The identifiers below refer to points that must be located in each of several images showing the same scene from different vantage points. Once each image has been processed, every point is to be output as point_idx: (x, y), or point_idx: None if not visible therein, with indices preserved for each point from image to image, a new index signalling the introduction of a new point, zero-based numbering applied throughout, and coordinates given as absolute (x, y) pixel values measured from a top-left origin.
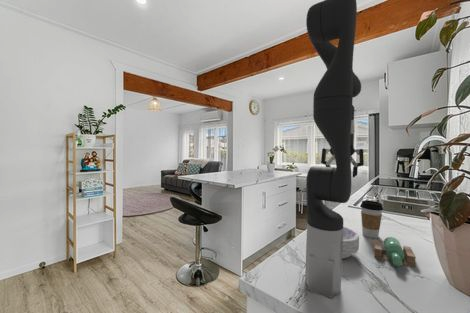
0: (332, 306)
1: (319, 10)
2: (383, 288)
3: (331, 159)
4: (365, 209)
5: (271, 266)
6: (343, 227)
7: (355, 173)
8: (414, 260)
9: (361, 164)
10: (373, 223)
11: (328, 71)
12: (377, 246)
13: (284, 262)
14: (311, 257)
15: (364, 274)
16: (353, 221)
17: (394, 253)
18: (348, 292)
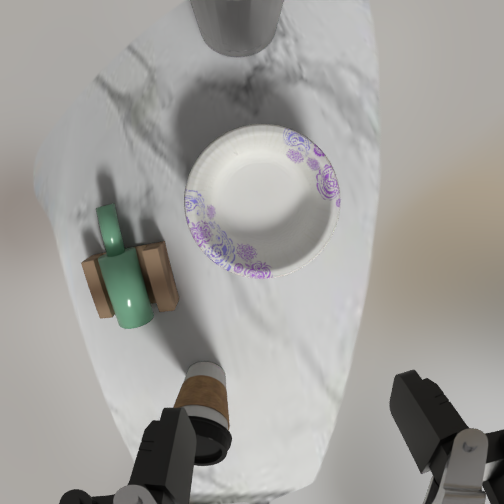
0: None
1: None
2: (130, 103)
3: (463, 502)
4: (209, 418)
5: (357, 28)
6: (249, 269)
7: (156, 436)
8: (86, 259)
9: (75, 498)
10: (189, 388)
11: None
12: (155, 266)
13: (345, 57)
14: None
15: (169, 128)
16: (264, 432)
17: (111, 238)
18: (187, 39)
